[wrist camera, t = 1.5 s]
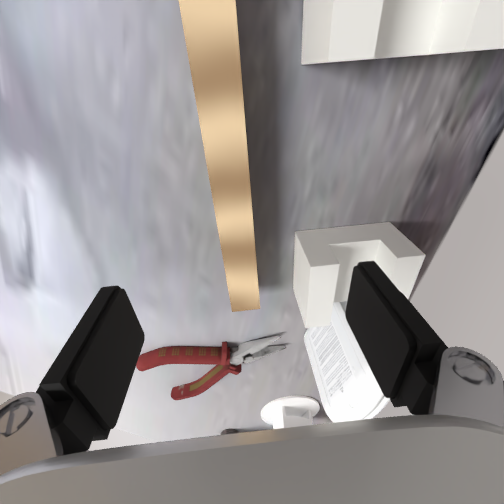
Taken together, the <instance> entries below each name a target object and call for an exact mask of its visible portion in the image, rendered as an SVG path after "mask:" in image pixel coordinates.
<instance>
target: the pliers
mask: <svg viewBox="0 0 504 504" xmlns="http://www.w3.org/2000/svg"><path fill="white" fill-rule="evenodd" d="M279 338H281V336H280V335H278V336H273V337H268V338H263V339H258V340H253V341H248V342H245V343H242V344H240V345H239V347H233V348H230V347H227V342H222V347H191V346H171V347H162V348H158V349H155V350H153V351H150V352H147V353H144V354H142V355H140V356H139V358H138V361H137V364H136V367H137V369H138V370H139V371H145V370H148V369H151V368H154V367H157V366H160V365H165V364H218V365H216V366H215V367H214V368H213V369H211V370H210V371H209V372H208V373H207V374H205V375H204V376H203V377H201V378H200V379H198V380H196V381H194V382H191V383H188V384H184V385H181V386H177V387H173V389H172V392H171V397H172V398H173V399H174V400H181V399H185V398H189V397H193V396H197V395H199V394H201V393H203V392H204V391H206V390H207V389H209V388H210V387H211V386H212V385H214V384H215V383H216V382H218V381H219V380H220V379H221V378H223V377H224V376H225V375H227V374H228V373H229V372H230V373H232V374H235V375H237V374H239V373H240V372H241V363H243V361H244V363H245V364H247V363H250V362H254V361H256V360H259V359H261V358H264V357H266V356H268V355H271V354H273V353H275V352H278V351H280V350H282V349H285V348H286V346H268V345H270V344H271V343H273V342H274V341H276V340H278V339H279Z"/></svg>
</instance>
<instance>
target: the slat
mask: <svg viewBox="0 0 504 504" xmlns="http://www.w3.org/2000/svg"><path fill="white" fill-rule="evenodd" d="M179 5H180V11H181V17H182V23H183V28H184V34H185V40H186V46H187V52H188V58H189V63H190V69H191V75H192V81H193V87H194V92H195V98H196V104H197V110H198V116H199V122H200V127H201V133H202V139H203V145H204V151H205V156H206V162H207V168H208V174H209V180H210V186H211V191H212V197H213V203H214V209H215V215H216V221H217V226H218V232H219V238H220V244H221V250H222V255H223V261H224V267H225V273H226V279H227V285H228V290H229V296H230V302H231V308H232V312H235V311H244V310H253V309H260V301H259V288H258V276H257V263H256V251H255V238H254V226H253V213H252V201H251V188H250V176H249V163H248V151H247V138H246V126H245V114H244V101H243V89H242V76H241V64H240V51H239V39H238V26H237V14H236V1H235V0H179Z"/></svg>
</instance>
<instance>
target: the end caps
mask: <svg viewBox="0 0 504 504" xmlns="http://www.w3.org/2000/svg"><path fill="white" fill-rule="evenodd" d="M503 48H504V0H304V2H303V29H302V57H301V65H305V64H318V63H330V62H343V61H356V60H369V59H381V58H394V57H407V56H419V55H432V54H444V53H456V52H468V51H479V50H491V49H503ZM425 256H426V255H425V254H424V253H423V252H422V251H421V250H420V249H419V248H418V247H416V246H415V245H414V244H413V243H412V242H411V241H410V240H409V239H408V238H407V237H405V236H404V235H403V234H402V233H401V232H400V231H399V230H398V229H397V228H396V227H395V226H393V225H392V224H391V223H390V222H383V223H373V224H363V225H353V226H343V227H333V228H323V229H313V230H303V231H295V249H294V276H293V290H294V293H295V296H296V299H297V302H298V305H299V309H300V312H301V315H302V318H303V321H304V325H305V328H312V327H321V326H330V320H331V314H332V308H333V303H335V302H344V301H347V300H348V294H349V289H350V283H351V278H352V272H353V268H354V266H357V264H358V263H359V262H365V261H375V262H376V263H377V264H378V266H379V267H380V268H381V269H382V271H383V272H384V273H385V274H386V275H387V277H388V278H389V279H390V280H391V281H392V283H393V284H394V285H395V286H396V287H397V289H398V290H399V291H400V292H402V293H403V294H404V295H405V297H406V298H407V299H408V298H409V296H410V293H411V291H412V288H413V286H414V283H415V281H416V278H417V276H418V273H419V271H420V268H421V266H422V263H423V261H424V258H425Z"/></svg>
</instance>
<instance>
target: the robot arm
mask: <svg viewBox="0 0 504 504" xmlns="http://www.w3.org/2000/svg"><path fill="white" fill-rule="evenodd" d="M345 316H346V320H347V322H348V324H349V326H350V328H351V330H352V332H353V334H354V336H355V338H356V340H357V342H358V345H359V347H360V349H361V351H362V353H363V355H364V357H365V359H366V361H367V363H368V365H369V367H370V369H371V371H372V373H373V375H374V377H375V379H376V381H377V383H378V385H379V387H380V389H381V391H382V393H383V395H384V396H385V397H386V398H390V400H391V402H392V404H393V406H394V407H400V406H407V407H408V409H409V411H410V413H412V415H409V416H397V417H386V418H375V419H363V420H354V421H345V422H335V423H326V424H317V425H307V426H298V427H289V428H280V429H271V430H262V431H253V432H244V433H235V434H226V435H217V436H209V437H200V438H191V439H183V440H174V441H166V442H157V443H149V444H141V445H133V446H124V447H117V448H109V449H102V450H94V451H89V450H88V449H89V447H90V444H91V442H92V441H96V440H105V439H107V438H108V435H109V432H110V429H113V428H114V427H115V425H116V423H117V420H118V417H119V414H120V411H121V408H122V405H123V402H124V400H125V397H126V394H127V391H128V388H129V385H130V382H131V379H132V376H133V373H134V370H135V367H136V364H137V361H138V358H139V355H140V352H141V349H142V346H143V343H144V332H143V330H142V328H141V325H140V323H139V321H138V318H137V316H136V314H135V312H134V309H133V307H132V305H131V303H130V300H129V298H128V296H127V294H126V291H125V290H124V289H121V288H120V287H119V286H109V287H102V288H101V289H100V290H99V292H98V293H97V295H96V297H95V298H94V300H93V301H92V303H91V304H90V306H89V308H88V309H87V311H86V312H85V314H84V315H83V317H82V319H81V320H80V322H79V323H78V325H77V326H76V328H75V330H74V331H73V333H72V334H71V336H70V337H69V339H68V341H67V342H66V344H65V345H64V347H63V348H62V350H61V352H60V353H59V355H58V356H57V358H56V359H55V361H54V363H53V364H52V366H51V367H50V369H49V370H48V372H47V374H46V375H45V377H44V378H43V380H42V381H41V383H40V386H39V388H38V390H37V391H36V393H35V392H26V393H23V394H19V395H17V396H15V397H13V398H11V399H9V400H7V401H6V402H4V403H3V404H2V405H0V504H504V381H503V378H502V375H501V373H500V371H499V370H498V368H497V367H496V366H495V365H494V364H493V363H492V362H491V361H490V360H489V359H487V358H486V357H484V356H483V355H481V354H480V353H477V352H475V351H473V350H470V349H467V348H464V347H451V348H448V347H447V346H446V345H445V343H444V342H443V341H442V340H441V339H440V338H439V336H438V335H437V334H436V333H435V331H434V330H433V329H432V328H431V327H430V325H429V324H428V323H427V322H426V321H425V319H424V318H423V317H422V316H421V315H420V313H419V312H418V311H417V310H416V309H415V308H414V306H413V305H412V304H411V303H410V301H409V300H408V299H407V298H406V297H405V295H404V294H403V293H402V292H400V291H399V290H398V289H397V287H396V286H395V285H394V284H393V283H392V281H391V280H390V279H389V278H388V277H387V275H386V274H385V273H384V272H383V271H382V269H381V268H380V267H379V266H378V264H377V263H376V262H375V261H365V262H359V263H358V264H357V266H354V268H353V272H352V278H351V283H350V289H349V294H348V300H347V305H346V311H345Z"/></svg>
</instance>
